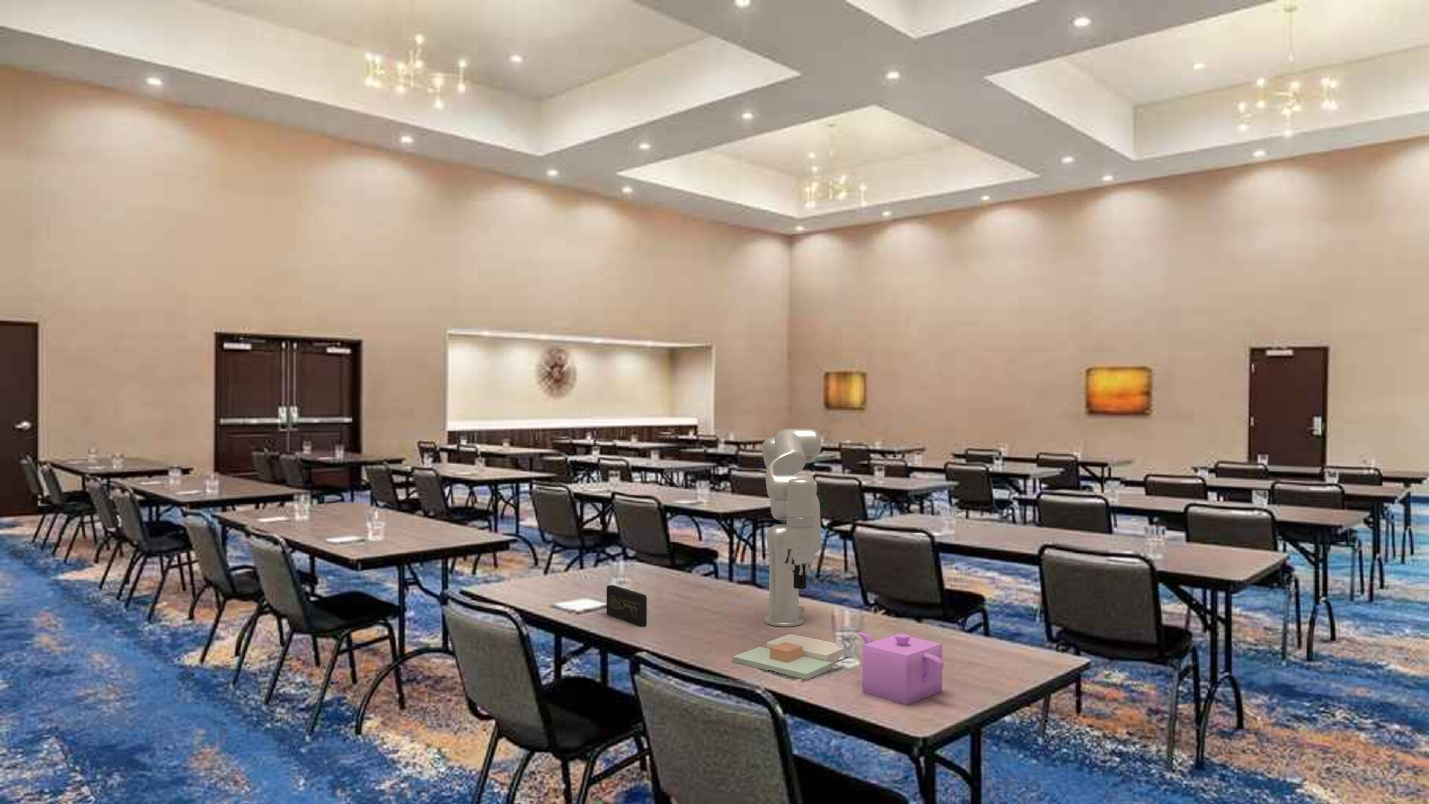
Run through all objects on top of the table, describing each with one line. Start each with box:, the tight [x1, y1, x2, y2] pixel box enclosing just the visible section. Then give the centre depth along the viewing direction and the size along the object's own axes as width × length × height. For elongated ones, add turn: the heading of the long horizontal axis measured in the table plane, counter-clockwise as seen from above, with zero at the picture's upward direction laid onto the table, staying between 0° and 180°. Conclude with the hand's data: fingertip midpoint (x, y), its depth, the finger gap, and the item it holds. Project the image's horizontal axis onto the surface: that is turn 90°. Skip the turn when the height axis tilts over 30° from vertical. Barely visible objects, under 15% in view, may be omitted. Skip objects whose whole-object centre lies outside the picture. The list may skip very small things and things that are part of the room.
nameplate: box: [606, 584, 648, 628], centre depth 284 cm, size 21×2×10 cm, turn 39°
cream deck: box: [765, 633, 845, 665], centre depth 246 cm, size 12×20×3 cm, turn 51°
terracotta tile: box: [770, 642, 803, 663], centre depth 238 cm, size 7×6×3 cm
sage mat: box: [732, 646, 833, 681], centre depth 236 cm, size 13×24×2 cm, turn 51°
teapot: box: [857, 631, 944, 706], centre depth 216 cm, size 15×25×14 cm, turn 43°
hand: (799, 588), depth 243 cm, fingers closed
